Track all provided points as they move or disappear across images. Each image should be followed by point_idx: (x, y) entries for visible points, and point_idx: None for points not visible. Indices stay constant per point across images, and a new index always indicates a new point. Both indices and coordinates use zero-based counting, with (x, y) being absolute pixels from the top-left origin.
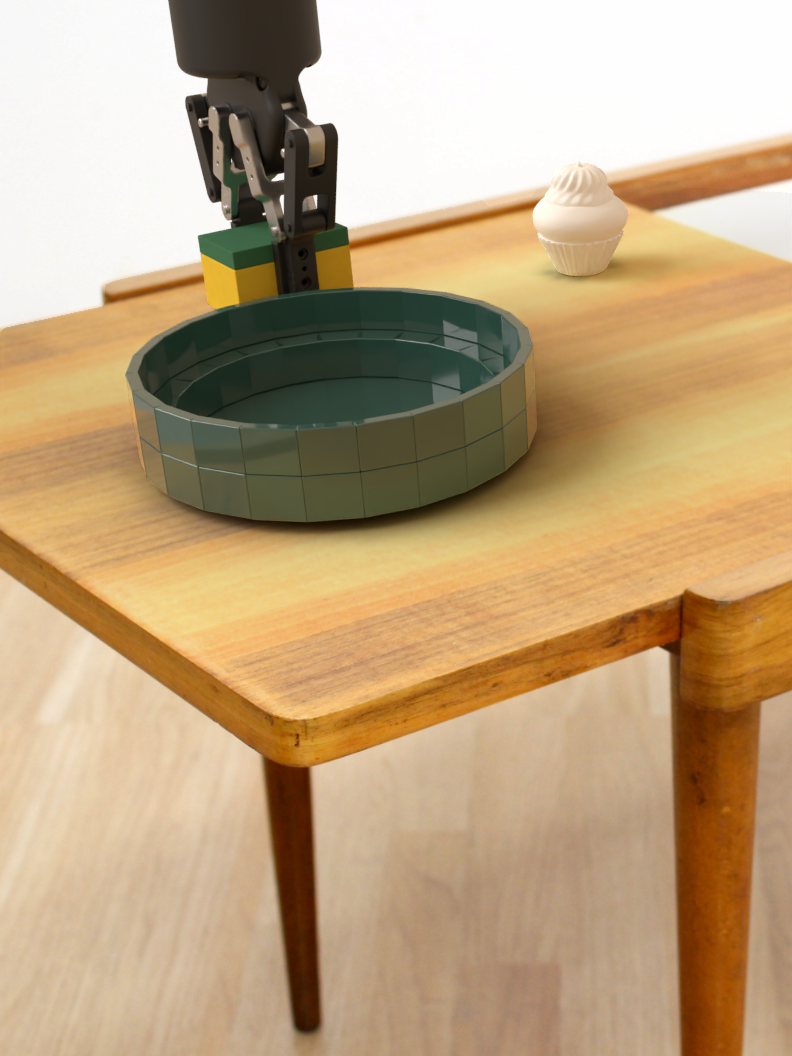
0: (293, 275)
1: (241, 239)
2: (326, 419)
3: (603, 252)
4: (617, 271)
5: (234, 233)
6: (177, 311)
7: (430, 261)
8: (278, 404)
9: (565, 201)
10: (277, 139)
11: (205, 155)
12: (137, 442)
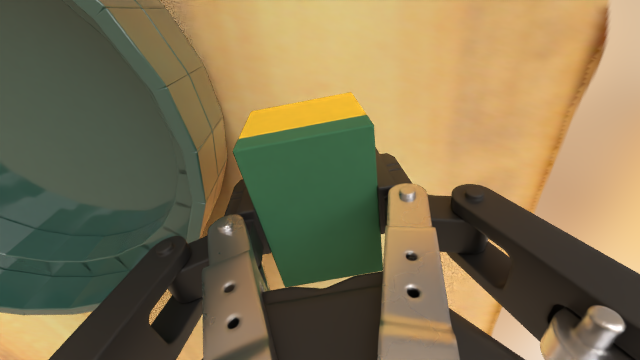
0: (230, 199)
1: (302, 178)
2: (79, 125)
3: None
4: None
5: (342, 177)
6: (506, 76)
7: (446, 278)
8: (131, 95)
9: None
10: None
11: (524, 246)
12: None
